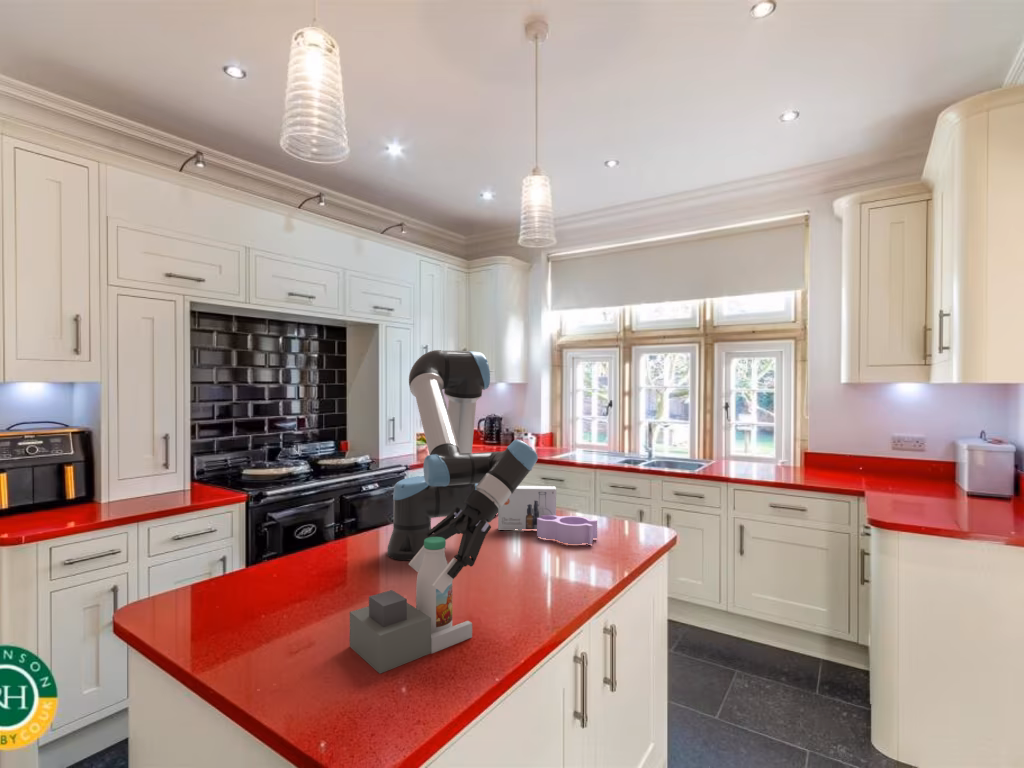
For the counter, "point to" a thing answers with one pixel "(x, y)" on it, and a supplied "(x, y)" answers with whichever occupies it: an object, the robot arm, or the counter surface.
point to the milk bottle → (426, 593)
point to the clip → (567, 529)
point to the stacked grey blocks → (398, 632)
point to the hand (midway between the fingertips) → (424, 578)
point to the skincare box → (527, 507)
